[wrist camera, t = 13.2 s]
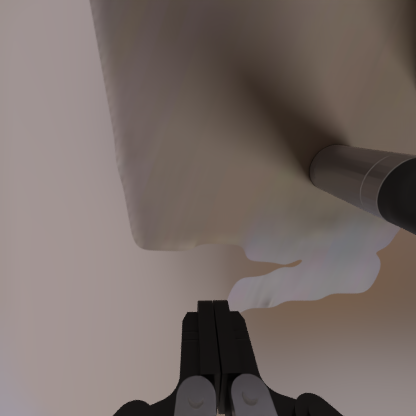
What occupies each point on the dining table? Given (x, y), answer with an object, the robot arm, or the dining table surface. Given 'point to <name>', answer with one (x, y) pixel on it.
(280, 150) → the dining table surface
